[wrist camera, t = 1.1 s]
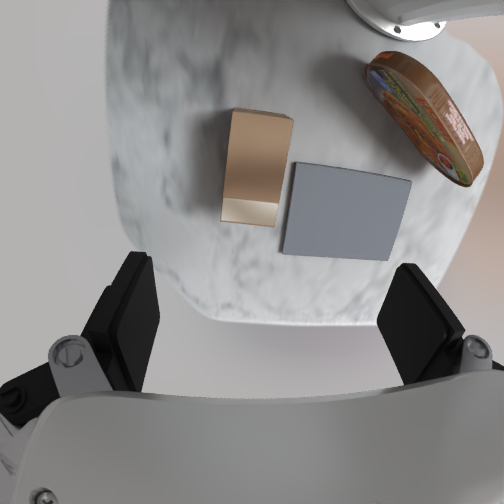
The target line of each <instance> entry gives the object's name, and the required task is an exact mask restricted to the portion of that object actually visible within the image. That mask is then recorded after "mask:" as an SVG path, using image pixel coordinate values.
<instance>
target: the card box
mask: <svg viewBox="0 0 504 504" xmlns="http://www.w3.org/2000/svg"><path fill="white" fill-rule="evenodd" d="M293 122H294V120H293V119H291V118H290V117H288V116H286V115H284V114H279V113H272V112H265V111H258V110H250V109H242V108H234V110H233V114H232V121H231V129H230V137H229V146H228V154H227V163H226V172H225V181H224V190H223V200H222V210H221V220H220V221H221V222H231V223H240V224H250V225H259V226H268V227H274V226H275V221H276V216H277V211H278V205H279V200H280V194H281V189H282V184H283V178H284V173H285V167H286V162H287V156H288V150H289V145H290V139H291V133H292V128H293Z"/></svg>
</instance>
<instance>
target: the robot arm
mask: <svg viewBox="0 0 504 504" xmlns="http://www.w3.org/2000/svg"><path fill="white" fill-rule="evenodd" d="M346 1H347V3H348V4H349V6H350V7H351V8H352V9H353V10H354V12H355V13H356V14H357V15H358V16H359V17H360V18H361V19H363V20H364V21H365V22H366V23H367V24H369V25H370V26H371V27H373V28H374V29H376V30H378V31H379V32H381V33H383V34H385V35H387V36H389V37H392V38H394V39H398V40H402V41H409V42H417V41H425V40H428V39H432V38H433V37H435V36H436V35H438V34H439V33H440V32H441V31H442V30H443V28H444V26H445V24H446V21H452V20H459V19H466V18H474V17H484V16H497V15H504V0H346ZM394 30H395V32H394ZM159 319H160V312H159V305H158V299H157V293H156V286H155V278H154V271H153V263H152V258H151V256H147V254H146V252H134V251H131V252H130V253H129V254H128V256H127V258H126V259H125V261H124V263H123V264H122V266H121V268H120V270H119V271H118V273H117V275H116V277H115V279H114V280H113V282H112V285H111V286H110V285H109V286H107V287H106V288H105V290H104V291H103V293H102V295H101V297H100V299H99V300H98V302H97V304H96V306H95V308H94V310H93V312H92V314H91V316H90V318H89V319H88V321H87V324H86V325H85V327H84V330H83V332H82V333H81V335H80V336H78V335H68V336H65V337H62V338H60V339H58V340H57V341H56V342H55V343H54V344H53V345H52V346H51V348H50V349H49V353H48V360H49V362H47V363H45V364H43V365H41V366H39V367H37V368H35V369H33V370H30V371H28V372H26V373H25V374H22V375H20V376H18V377H16V378H14V379H12V380H10V381H8V382H6V383H5V384H3V385H2V386H1V388H0V504H504V366H502V365H500V364H499V363H497V362H495V361H493V360H492V350H491V348H490V346H489V345H488V343H487V342H486V341H485V340H484V339H482V338H481V337H479V336H476V335H468V336H467V337H465V339H464V340H463V338H462V335H463V334H464V332H465V329H464V327H463V326H462V324H461V323H460V321H459V320H458V319H457V317H456V316H455V314H454V313H453V311H452V310H451V309H450V307H449V306H448V305H447V303H446V302H445V300H444V299H443V298H442V296H441V295H440V294H439V293H438V291H437V290H436V289H435V287H434V286H433V285H432V283H431V282H430V281H429V280H428V278H427V277H426V276H425V275H424V273H423V272H422V271H421V270H420V268H419V267H418V266H417V265H416V264H414V263H402V264H401V265H400V267H398V268H397V269H396V272H395V274H394V277H393V280H392V282H391V285H390V287H389V290H388V293H387V295H386V298H385V300H384V302H383V305H382V307H381V310H380V312H379V314H378V317H377V325H378V328H379V330H380V332H381V334H382V336H383V338H384V340H385V343H386V345H387V347H388V349H389V351H390V353H391V356H392V358H393V360H394V362H395V365H396V367H397V369H398V372H399V374H400V376H401V378H402V381H403V383H404V385H403V386H398V387H392V388H386V389H379V390H372V391H365V392H357V393H349V394H339V395H329V396H317V397H300V398H276V399H231V398H206V397H189V396H175V395H164V394H154V393H142V392H141V391H142V386H143V382H144V378H145V374H146V370H147V366H148V362H149V358H150V354H151V350H152V347H153V343H154V339H155V336H156V332H157V328H158V325H159V321H160V320H159Z"/></svg>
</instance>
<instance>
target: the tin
mask: <svg viewBox="0 0 504 504" xmlns="http://www.w3.org/2000/svg"><path fill="white" fill-rule="evenodd" d="M363 77H364V80H365V82H366V84H367V86H368V87H369V89H370V90H371V92H372V93H373V94H374V95H375V97H376V98H377V99H378V100H379V101H380V102H381V104H382V105H383V106H384V107H385V108H386V109H387V111H388V112H389V113H390V114H391V115H392V116H393V118H394V119H395V120H396V121H397V122H398V124H399V125H400V126H401V127H402V129H403V130H404V131H405V133H406V134H407V135H408V137H409V138H410V139H411V140H412V142H413V143H414V144H415V146H416V147H417V149H418V150H419V151H420V152H421V154H422V155H423V156H424V157H425V158H426V159H427V160H428V161H429V162H430V163H431V164H432V165H433V166H434V167H435V168H436V169H437V170H438V171H439V172H440V173H442V174H443V175H444V176H445V177H447V178H448V179H450V180H451V181H452V182H454V183H456V184H458V185H460V186H462V187H470V186H471V185H472V183H473V181H474V180H475V178H476V177H477V176H478V174H479V173H480V171H481V170H482V168H483V164H484V160H483V155H482V152H481V149H480V147H479V145H478V143H477V141H476V139H475V137H474V135H473V134H472V132H471V130H470V128H469V126H468V125H467V123H466V121H465V119H464V118H463V116H462V114H461V113H460V111H459V110H458V108H457V106H456V105H455V103H454V102H453V100H452V99H451V97H450V96H449V94H448V93H447V91H446V90H445V88H444V87H443V85H442V84H441V83H440V81H439V80H438V79H437V78H436V77H435V75H434V74H433V73H432V72H431V71H430V70H429V69H427V68H426V67H425V66H424V65H423V64H421V63H420V62H418V61H417V60H415V59H414V58H412V57H410V56H408V55H406V54H404V53H401V52H397V51H385V52H382V53H380V54H378V55H377V56H376V57H375V58H374V59H373V60H372V61H371V62H370V63H369V64H367V65H365V66H364V68H363Z"/></svg>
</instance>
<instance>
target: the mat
mask: <svg viewBox="0 0 504 504" xmlns="http://www.w3.org/2000/svg"><path fill="white" fill-rule="evenodd" d="M411 185H412V182H411V181H410V180H406V179H401V178H396V177H391V176H386V175H381V174H375V173H370V172H364V171H358V170H352V169H346V168H339V167H333V166H326V165H318V164H311V163H303V162H296V163H295V170H294V177H293V184H292V191H291V198H290V204H289V211H288V217H287V223H286V230H285V236H284V242H283V248H282V254H284V255H300V256H316V257H332V258H348V259H364V260H380V261H388V259H389V256H390V254H391V251H392V248H393V245H394V242H395V239H396V236H397V233H398V230H399V227H400V224H401V220H402V217H403V214H404V210H405V207H406V204H407V200H408V196H409V193H410V189H411Z"/></svg>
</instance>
